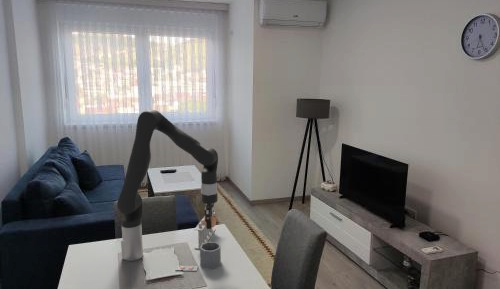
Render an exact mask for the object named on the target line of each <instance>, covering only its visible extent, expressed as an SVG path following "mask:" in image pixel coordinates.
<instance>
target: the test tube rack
mask: <svg viewBox="0 0 500 289" xmlns="http://www.w3.org/2000/svg"><path fill="white" fill-rule="evenodd" d="M215 214H216V212H215V211H214V215H215ZM204 218H205V215H204V216H203V218H202V219H200V221H199V222H198V224H197V225H196V227H195V228H194V231H198V236H197V238H198V241H197V243H196V245H195V246H194V250H199V251H200V247H201V244H204V243H206V242H210V239H211V238H212V236H213V235H212V234H214V233H215V231H216V228H214V227H213V228H211V229H207V227H206V226H205V225H204Z"/></svg>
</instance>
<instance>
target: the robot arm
mask: <svg viewBox="0 0 500 289" xmlns="http://www.w3.org/2000/svg"><path fill="white" fill-rule="evenodd" d="M155 130H156V131H158V132H161V133H163V134H164V135H166V136H167V137H168V139H170V140H171V141H172V143H174V144H175V145H176V146H177V147H179V148H180V149H181V150H183V151H184V152H186V153H187V154H189V155H191V157H192V158H193V159H194V160H195V161H197V162H198V163H199V164H200V165H202V166H203V168H202V171H201V176H200V177H201V179H200V180H201V185H200V194H201V197H200V198H201V199H200V200H201V202H202V203H203V204H205V206H204V216H205V222H206V227H207V229H211V221H212V216H214V215H215V214H214V212H215V203H217V202H218V199H219V197H218V193H219V192H218V178H217V177H218V176H217V172H218V171H217V170H218V165H219V164H218V163H219V155H218V152H217V151H216V150H215V149H214V148H212V147H210V148H206V149H205V147H203V146H202V145H201V143H200V141H198V140H197V139H195V138H194V137H193V136H191V135H189V134H187V133H186V132H185V131H183V130H181V129H180V128H179V127H178V126H177V125H175V124H173V123H172V122H171V121H170V120H169V119H167V117H166V116H164V114H162V113H161V112H160V111H158V110H155V109H149V110H144V111H142V112H140V114H139V115H138V118H137V122H136V129H135V135H134V137H135V138H134V141H133V145H132V148H131V153H130V156H129V160H128V165H127V169H126V172H125V173H126V174H125V176H124V182H123V184H122V188H121V190H120V194H119V197H118V199H117V203H116V204H117V205H116V207H117V210H118V211H119V212H120V213H121V214H123V216H122V218H121V234H122V235H121V236H122V239H121V240H120V245H121V246H120V248H121V259H122V260H124V261H127V262H134V261H138V260H140V259H142V258H143V257H144V246H143V232H142V231H143V229H142V218H143V198H142V196H141V194H140V193H139V192H138V191H139V188H140V187H141V185H142V183H143V181H144V180H145V177H146V176H147V172H148V170H149V168H150V167H149V166H150V163H151V159H152V154H151V141H152V136H153V134H154V132H155ZM207 217H208V218H209V219H207ZM142 256H143V257H142Z"/></svg>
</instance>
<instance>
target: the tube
mask: <svg viewBox="0 0 500 289" xmlns="http://www.w3.org/2000/svg"><path fill="white" fill-rule="evenodd" d="M221 247H222V246H221V244H220V243H218V242H217V241H208V242H206V243H204V244H201V247H200V250H199V253H200V254H199V258H200V259H199V260H200V261H199V263H200V267H202V268H204V269H206V270H215V269H217V268H219V267H221V266H220V265H221V262H222V261H221V259H222V257H221V256H222V255H221V254H222V253H221V251H222V250H221V249H222V248H221Z"/></svg>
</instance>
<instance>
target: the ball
mask: <svg viewBox="0 0 500 289" xmlns="http://www.w3.org/2000/svg"><path fill="white" fill-rule="evenodd" d="M203 218H204V217H203ZM207 219H209V218H208V217H207ZM216 224H217V219H216V217H215V216H214V215H213V216H212V221H211V228H214V227H216ZM204 225H205V226H206V222H205V218H204Z"/></svg>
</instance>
